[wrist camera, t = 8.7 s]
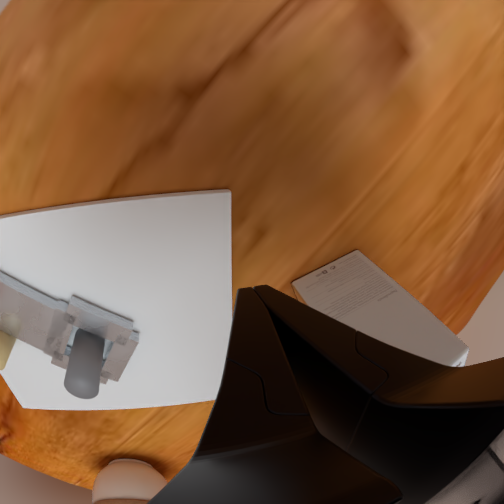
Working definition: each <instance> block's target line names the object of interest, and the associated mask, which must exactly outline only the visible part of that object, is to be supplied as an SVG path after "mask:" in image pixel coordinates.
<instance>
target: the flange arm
mask: <svg viewBox="0 0 504 504" xmlns="http://www.w3.org/2000/svg"><path fill="white" fill-rule="evenodd" d="M73 325H74V326H76V327H78V328H81V329H83V330H85V331H88V332H90V333H93V334H95V335H98V336H100V337H102V338H105V339H108V340H110V341H112V342H111V344H110V346H109V348H108V351H107V353H106V355H105V357H104V359H103V360H102V368H101V376H100V383H103V384H106V383H107V381H108V379H110V380H113V381H116V382H118V381H119V379H120V377H121V375H122V373H123V371H124V369H125V367H126V365H127V364H128V362H129V360H130V358H131V356H132V354H133V352H134V351H135V349H136V347H137V345H138V343H139V333H136V332H134V331H133V322H132V321H130V320H127V319H125V318H122V317H120V316H117V315H115V314H113V313H110V312H108V311H105V310H103V309H101V308H99V307H96V306H94V305H92V304H89V303H87V302H85V301H83V300H81V299H78V298H76V297H74V296H72V297H71V299H70V302H69V304H68V303H66V302H63V301H61V300H59V301H56V300H54V299H52V298H50V297H48V296H46V295H44V294H42V293H40V292H38V291H36V290H34V289H32V288H30V287H28V286H26V285H24V284H22V283H20V282H19V281H17V280H15V279H13V278H11V277H9V276H7V275H6V274H4V273H2V272H0V330H1V331H3V332H5V333H7V334H9V335H11V336H13V337H15V338H17V339H19V340H21V341H23V342H25V343H27V344H29V345H31V346H33V347H35V348H38V349H40V350H42V351H44V352H43V353H45V354H47V355H49V356H51V357H52V361H51V364H54V365H56V366H58V367H61V368H63V369H65V370H67V365H68V361H69V357H70V353H71V349H72V348H70V347H68V346H67V343H68V340H69V337H70V334H71V331H72V328H73Z"/></svg>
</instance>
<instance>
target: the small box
mask: <svg viewBox="0 0 504 504" xmlns="http://www.w3.org/2000/svg"><path fill="white" fill-rule="evenodd" d="M291 285H292V287H293V289H294V292H295V294H296V297H297V300H298V301H300V302H302V303H304V304H306V305H308V306H310V307H312V308H314V309H316V310H318V311H320V312H322V313H324V314H326V315H328V316H330V317H332V318H334V319H336V320H338V321H340V322H342V323H344V324H346V325H348V326H350V327H352V328H354V329H356V331H360V332H362V333H365V334H367V335H369V336H371V337H373V338H375V339H377V340H380V341H382V342H384V343H386V344H389V345H391V346H394V347H396V348H399V349H401V350H404V351H407V352H410V353H412V354H415V355H418V356H420V357H423V358H426V359H429V360H432V361H434V362H437V363H440V364H443V365H447V366H453V367H463V366H465V362H466V359H467V355H468V352H469V347H468V346H467V345H465V343H463V342H462V341H461V340H460V339H459V338H458V337H457V336H456V335H455V334H454V333H453V332H452V331H451V330H450V329H449V328H447V327H446V326H445V325H444V324H443V323H442V322H441V321H440V320H439V319H438V318H437V317H435V316H434V315H433V314H432V313H431V312H430V311H429V310H428V309H427V308H425V307H424V306H423V305H422V304H421V303H420V302H419V301H418V300H416V299H415V298H414V297H413V296H412V295H411V294H410V293H408V292H407V291H406V290H405V289H404V288H403V287H401V286H400V285H399V284H398V283H397V282H396V281H394V280H393V279H392V278H391V277H390V276H388V275H387V274H386V273H385V272H384V271H383V270H381V269H380V268H379V267H378V266H377V265H376V264H374V263H373V262H372V261H371V260H370V259H368V258H367V257H366V256H365V255H364V254H362V253H361V252H360V251H359V250H355V251H353V252H352V253H349V254H347V255H345V256H343V257H341V258H339V259H337V260H336V261H334V262H331V263H330V264H328V265H326V266H324V267H321V268H320V269H318V270H315V271H313V272H311V273H310V274H308V275H306V276H304V277H302V278H300V279H298V280H295V281H293V282H292V283H291Z"/></svg>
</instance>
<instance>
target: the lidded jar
mask: <svg viewBox="0 0 504 504" xmlns="http://www.w3.org/2000/svg"><path fill="white" fill-rule="evenodd" d="M167 484H168V482H167V481H166V479H165V478H164V477H163V476H162V475H161V474H160V473H159V472H158V471H157V470H155V469H153V467H152V465H150V464H149V463H147V462H144V461H141V460H137V459H126V458H124V459H116V460H113V461H111V462H109V464H108V465H107V466H106V467H104V468H103V469H102V470H101V471H100V472H99V473H98V475H97V477H96V479H95V481H94V485H93V491H92V504H147V503H148V502H149V501H150V500H151V499H152V498H153V497H154V496H155V495H156V494H157V493H158V492H159V491H160V490H161V489H162V488H163V487H165V486H166V485H167Z"/></svg>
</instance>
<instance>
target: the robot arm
mask: <svg viewBox="0 0 504 504" xmlns="http://www.w3.org/2000/svg"><path fill="white" fill-rule="evenodd" d="M225 360H226V361H225V364H224V370H223V375H222V379H221V384H220V387H219V390H218V394H217V397H216V400H215V403H214V405H213V408H212V410H211V413H210V416H209V418H208V421H207V424H206V426H205V429H204V431H203V434H202V436H201V439H200V441H199V444H198V446H197V448H196V450H195V452H194V454H193V456H192V458H191V459H190V461H189V462H188V463H187V464H186V466H185V467H184V468H183V469H182V470H181V471H180V472H179V473H178V474H177V475H176V476H175V477H174V478H173V479H172V480H171V481H170V482H169V483H168V484H167V485H166V486H165V487H163V488H162V489H161V490H160V491H159V492H158V493H157V494H156V495H155V496H154V497H153V498H152V499H151V500H150V501H149V502H148V503H147V504H504V357H502V358H499V359H495V360H491V361H487V362H483V363H479V364H474V365H470V366H463V367H453V366H447V365H443V364H440V363H437V362H434V361H432V360H429V359H426V358H423V357H420V356H418V355H415V354H412V353H410V352H407V351H404V350H401V349H399V348H396V347H394V346H391V345H389V344H386V343H384V342H382V341H380V340H377V339H375V338H373V337H371V336H369V335H367V334H365V333H362V332H360V331H356V329H354V328H352V327H350V326H348V325H346V324H344V323H342V322H340V321H338V320H336V319H334V318H332V317H330V316H328V315H326V314H324V313H322V312H320V311H318V310H316V309H314V308H312V307H310V306H308V305H306V304H304V303H302V302H300V301H298V300H296V299H294V298H292V297H290V296H288V295H286V294H284V293H282V292H280V291H278V290H276V289H274V288H272V287H270V286H268V285H260V286H254V287H253V288H252V287H247V288H240V289H238V290H237V295H236V301H235V307H234V313H233V319H232V324H231V330H230V336H229V342H228V348H227V353H226V359H225Z"/></svg>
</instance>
